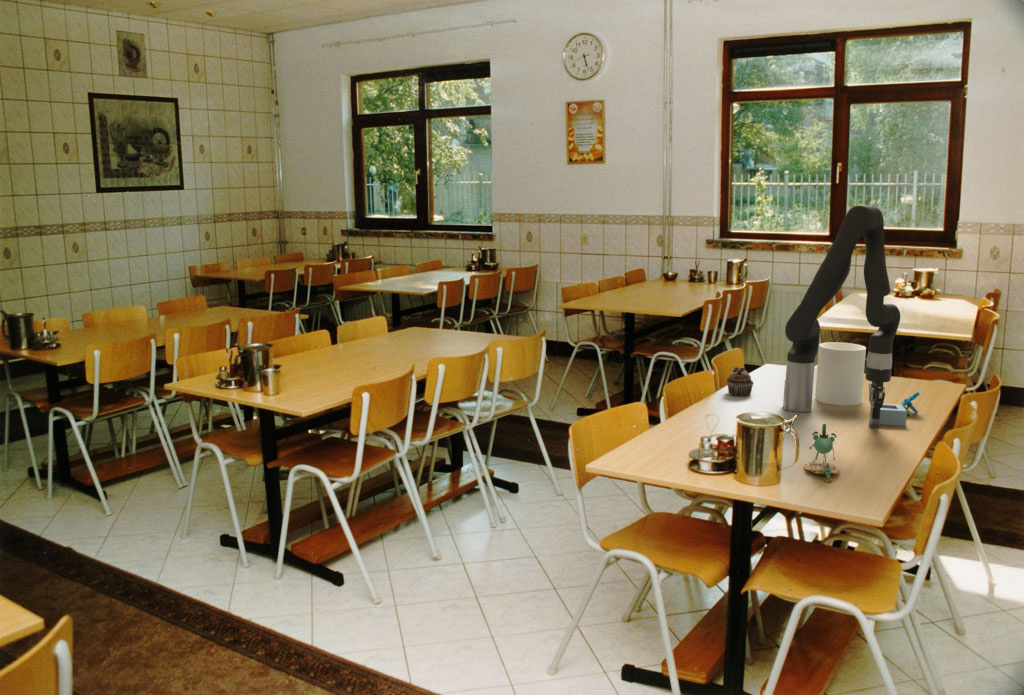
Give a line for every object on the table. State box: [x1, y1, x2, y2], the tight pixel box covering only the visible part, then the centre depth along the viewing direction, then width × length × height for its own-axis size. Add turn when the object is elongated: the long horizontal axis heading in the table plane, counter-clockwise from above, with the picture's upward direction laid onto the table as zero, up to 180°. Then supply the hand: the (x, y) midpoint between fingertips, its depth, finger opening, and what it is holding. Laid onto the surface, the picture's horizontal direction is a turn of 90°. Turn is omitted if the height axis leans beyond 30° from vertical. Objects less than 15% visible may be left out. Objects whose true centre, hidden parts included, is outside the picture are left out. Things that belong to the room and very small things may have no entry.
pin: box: [868, 396, 880, 429], centre depth 288 cm, size 3×3×10 cm
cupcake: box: [726, 366, 754, 398], centre depth 331 cm, size 10×10×10 cm
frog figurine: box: [803, 423, 841, 484], centre depth 244 cm, size 10×18×15 cm, turn 157°
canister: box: [814, 341, 867, 407], centre depth 322 cm, size 16×16×20 cm
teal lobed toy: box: [900, 391, 920, 417], centre depth 306 cm, size 11×6×10 cm
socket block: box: [879, 402, 908, 427], centre depth 295 cm, size 9×9×5 cm
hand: (874, 417), depth 289 cm, fingers closed on pin, 3 cm apart
